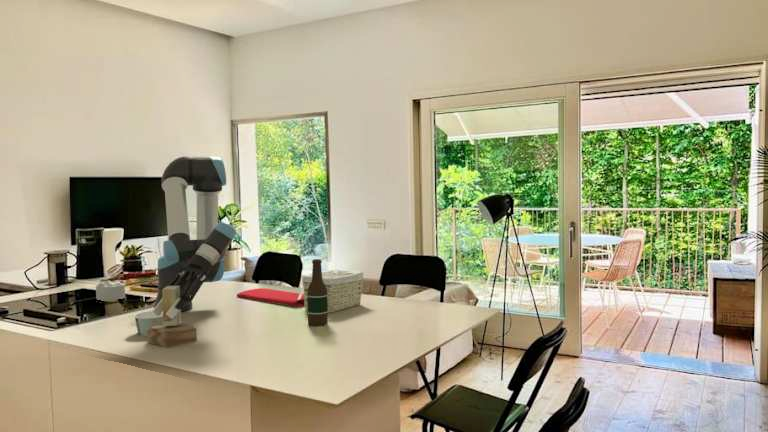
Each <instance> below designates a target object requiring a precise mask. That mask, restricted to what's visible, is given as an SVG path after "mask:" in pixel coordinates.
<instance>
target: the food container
mask: <svg viewBox="0 0 768 432" xmlns="http://www.w3.org/2000/svg"><path fill="white" fill-rule="evenodd" d="M133 318H134V320H135V324H136V329H137V334H138V335H139V336H147V337H148V330H150V327H153V326H158V325H163V311H162V313H161V314H160V315H159V316H157V315H156V314H155V313H154V312H153V310H148V311H142V312H138V313H135V314H133Z"/></svg>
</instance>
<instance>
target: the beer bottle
mask: <svg viewBox="0 0 768 432" xmlns="http://www.w3.org/2000/svg"><path fill="white" fill-rule="evenodd" d="M311 263H312V271H311V272H312V273H311V274H312V281H311V283H310V285H309V287H308V291H307V308H308V310H307V323H308V326H310V327H323V326H324V327H325V326H327V325H328V318H329V317H328V316H329V313H328V301H327V289H326V286H325V284H324V283H323V280H322V272H323V271H322V263H323V261H322V259H319V258H317V259H312V261H311Z"/></svg>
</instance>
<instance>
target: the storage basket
mask: <svg viewBox="0 0 768 432" xmlns="http://www.w3.org/2000/svg"><path fill="white" fill-rule="evenodd" d="M322 280H323V283H324V284H325V286H326V289H327V301H328V314H329V313H330V314H331V313H335V312H337V311H342V310H345V309H350V308H353V307H356V306H358V305H361V299H362V290H363V289H362V288H363V280H364V271H361V270H350V269H349V270H347V269H346V270H345V269H331V270H325V271H324V270H323V271H322ZM311 281H312V273H307V274H304V275H303V276H302V286H303V287H302V289H303V294H304V303H305V304H304V305H305V306H304V310H307V311H308V308H307V291H308V287H309V285H310V283H311Z"/></svg>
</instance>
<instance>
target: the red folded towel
mask: <svg viewBox="0 0 768 432" xmlns="http://www.w3.org/2000/svg"><path fill="white" fill-rule="evenodd" d="M236 298H242V299H247V300H253V301H257V302H258V301H259V302H262V301H263V302H264V303H269V302H270V304H277V305H279V304H280V305H285V306H292V307H305V305H304V304H305V303H304V293H298V292H291V291H284V290H279V289H270V288H252V289H248V290H243V291H241V292H239V293H237V294H236Z"/></svg>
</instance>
